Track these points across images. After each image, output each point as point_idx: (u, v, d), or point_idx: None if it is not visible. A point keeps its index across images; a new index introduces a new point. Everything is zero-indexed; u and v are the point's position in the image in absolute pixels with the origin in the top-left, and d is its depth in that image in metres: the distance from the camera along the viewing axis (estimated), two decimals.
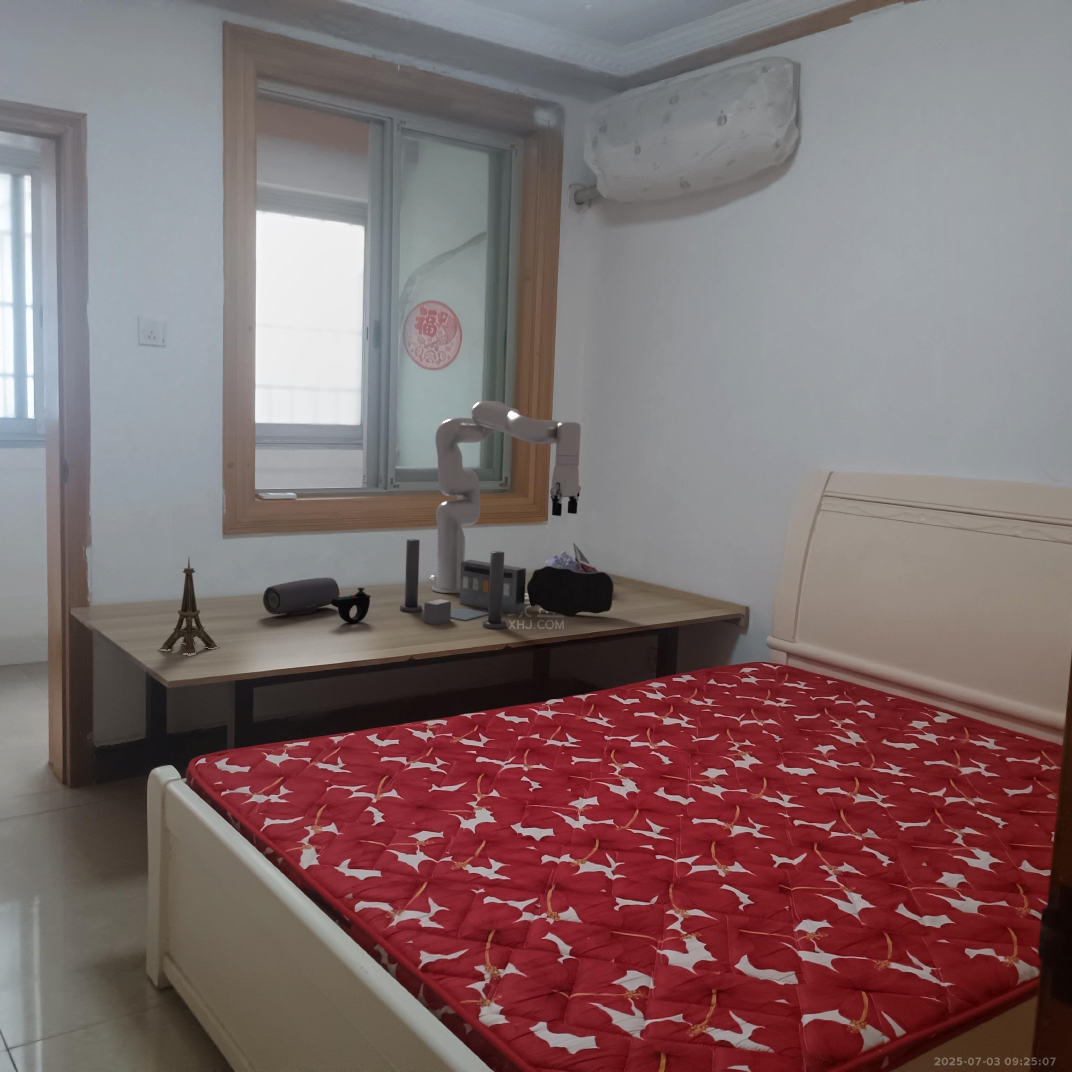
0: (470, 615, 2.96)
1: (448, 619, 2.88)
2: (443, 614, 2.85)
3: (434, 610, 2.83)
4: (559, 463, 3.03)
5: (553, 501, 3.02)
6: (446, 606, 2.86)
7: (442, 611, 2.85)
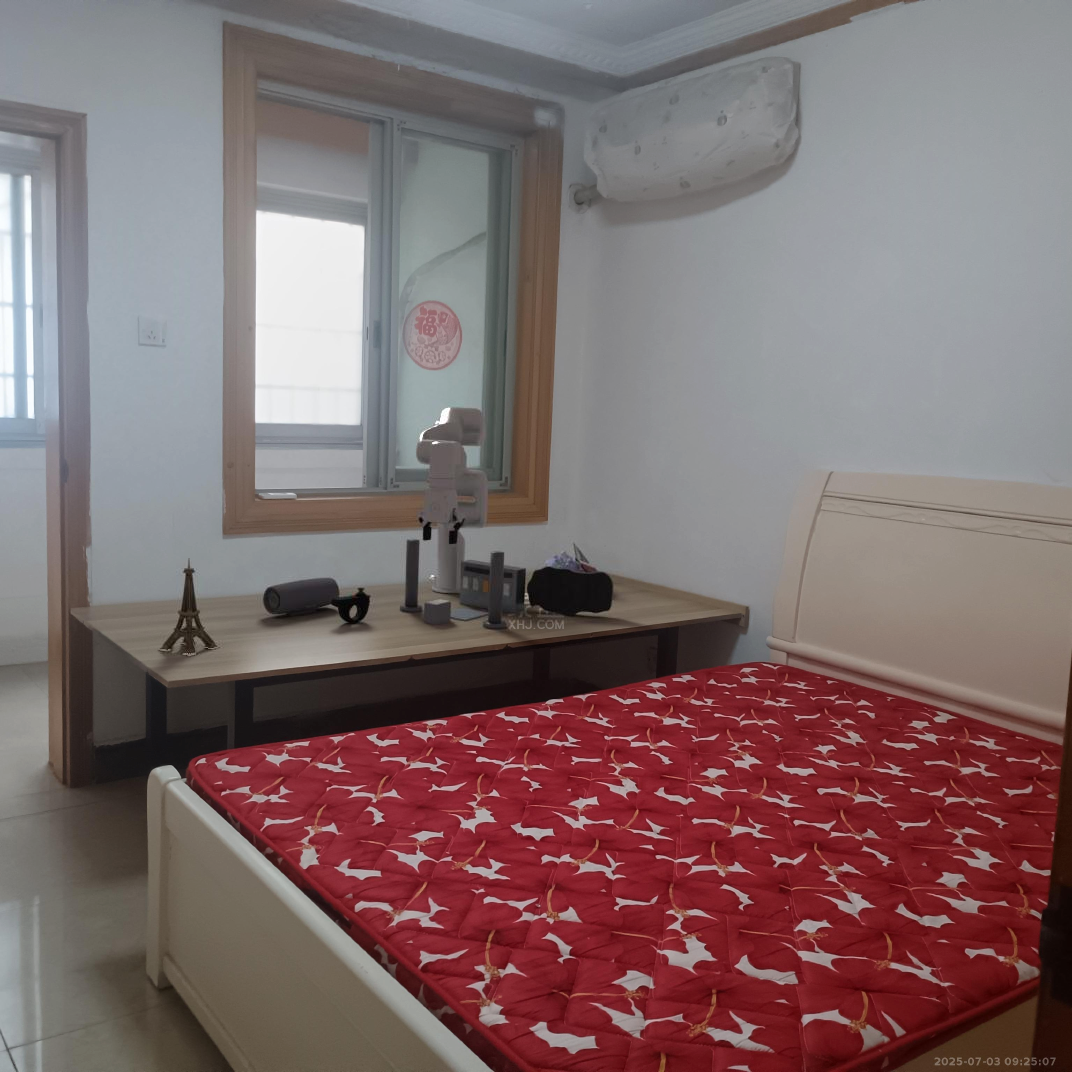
0: (470, 615, 2.96)
1: (448, 619, 2.88)
2: (443, 614, 2.85)
3: (434, 610, 2.83)
4: (450, 487, 2.79)
5: (456, 528, 2.79)
6: (446, 606, 2.86)
7: (442, 611, 2.85)
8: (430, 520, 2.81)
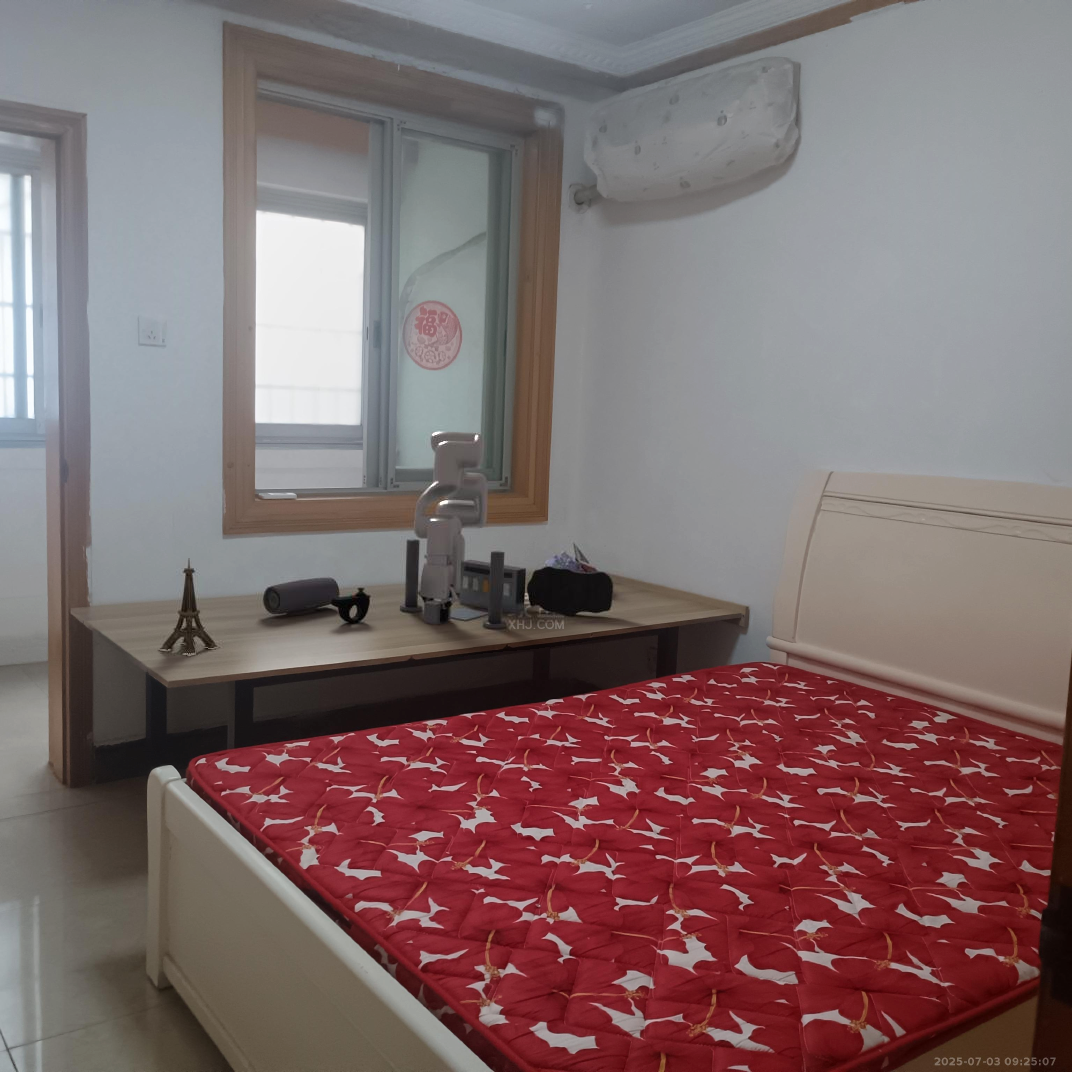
0: (470, 615, 2.96)
1: (448, 619, 2.88)
2: None
3: (434, 610, 2.83)
4: (447, 564, 2.82)
5: (447, 607, 2.84)
6: None
7: None
8: (428, 595, 2.84)
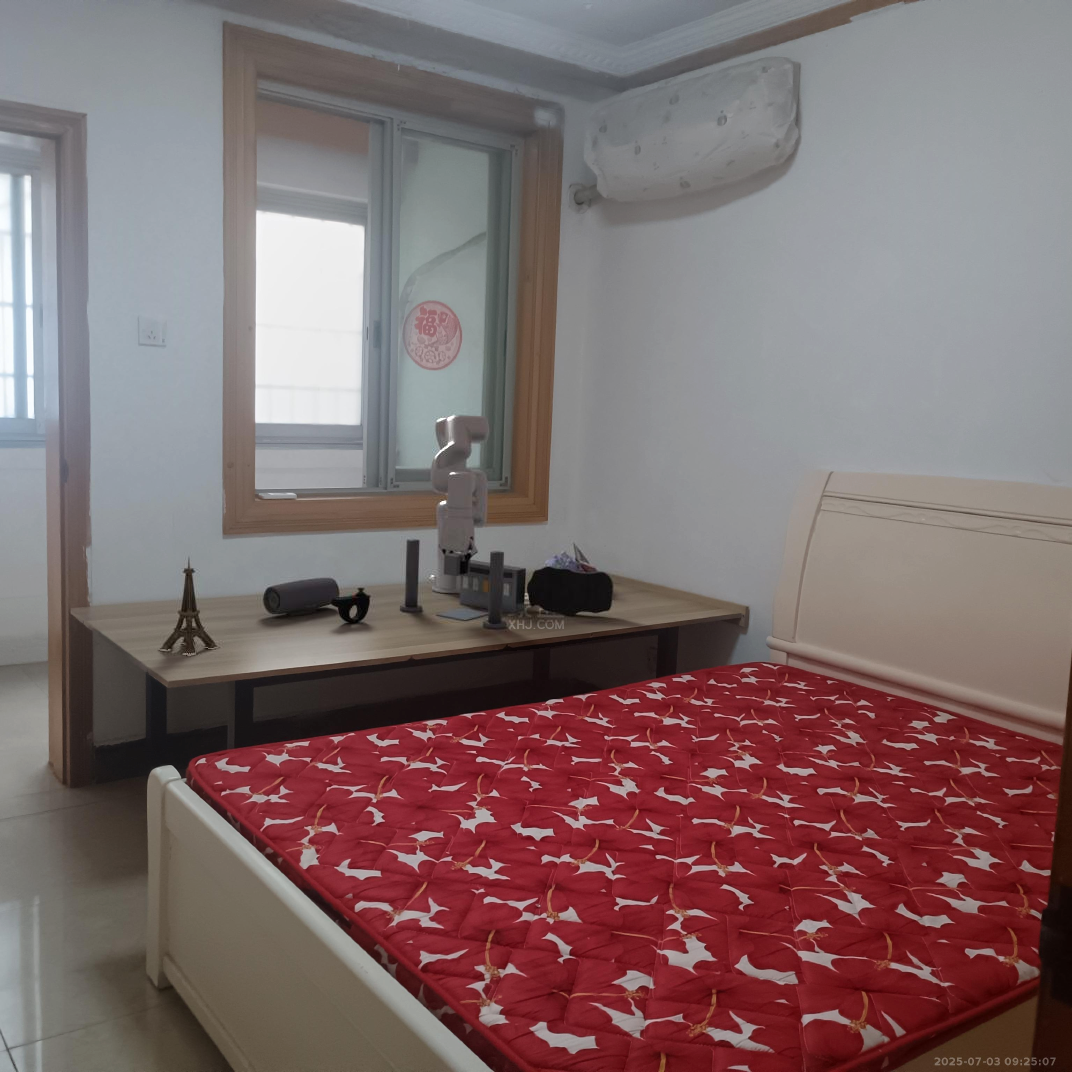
0: (470, 615, 2.96)
1: None
2: None
3: (454, 562, 2.88)
4: (467, 516, 2.88)
5: (467, 559, 2.90)
6: None
7: None
8: (448, 548, 2.90)
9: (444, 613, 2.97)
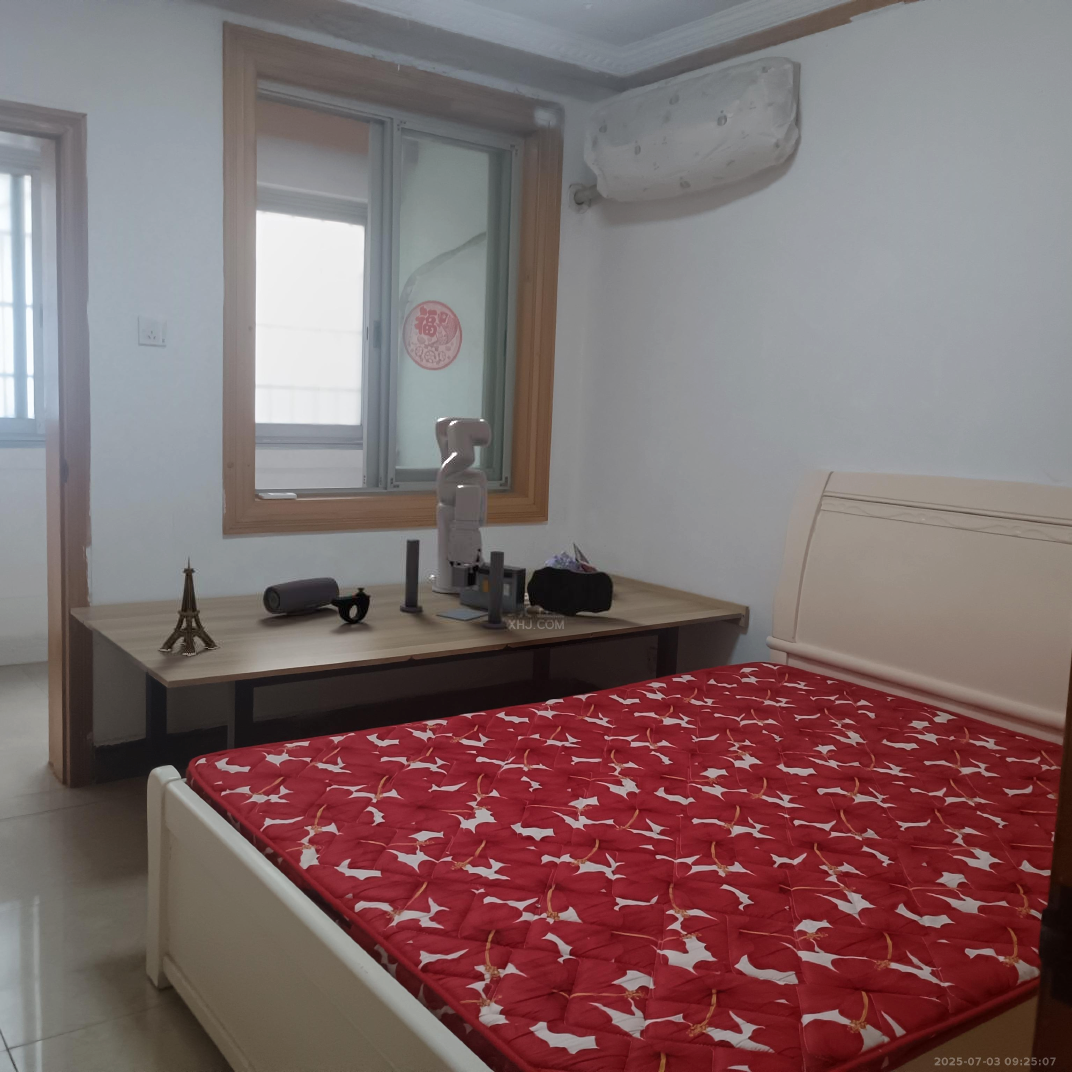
0: (470, 615, 2.96)
1: (475, 583, 2.97)
2: None
3: (462, 574, 2.92)
4: (475, 529, 2.92)
5: (475, 571, 2.93)
6: None
7: None
8: (456, 560, 2.94)
9: (444, 613, 2.97)
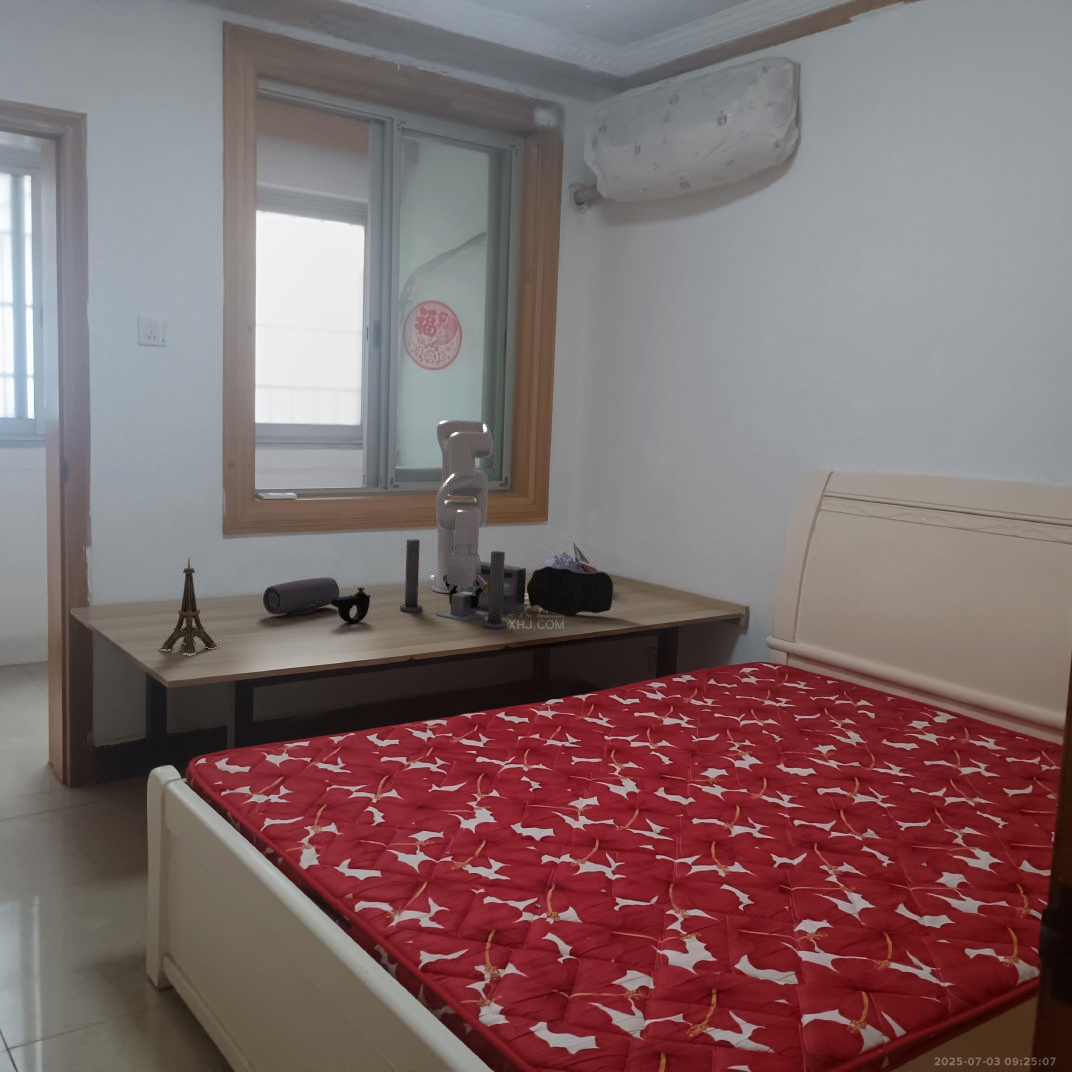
0: (470, 615, 2.96)
1: (474, 611, 2.99)
2: (469, 606, 2.96)
3: (461, 602, 2.94)
4: (474, 553, 2.93)
5: (478, 594, 2.94)
6: None
7: (468, 603, 2.96)
8: (455, 584, 2.95)
9: (444, 613, 2.97)
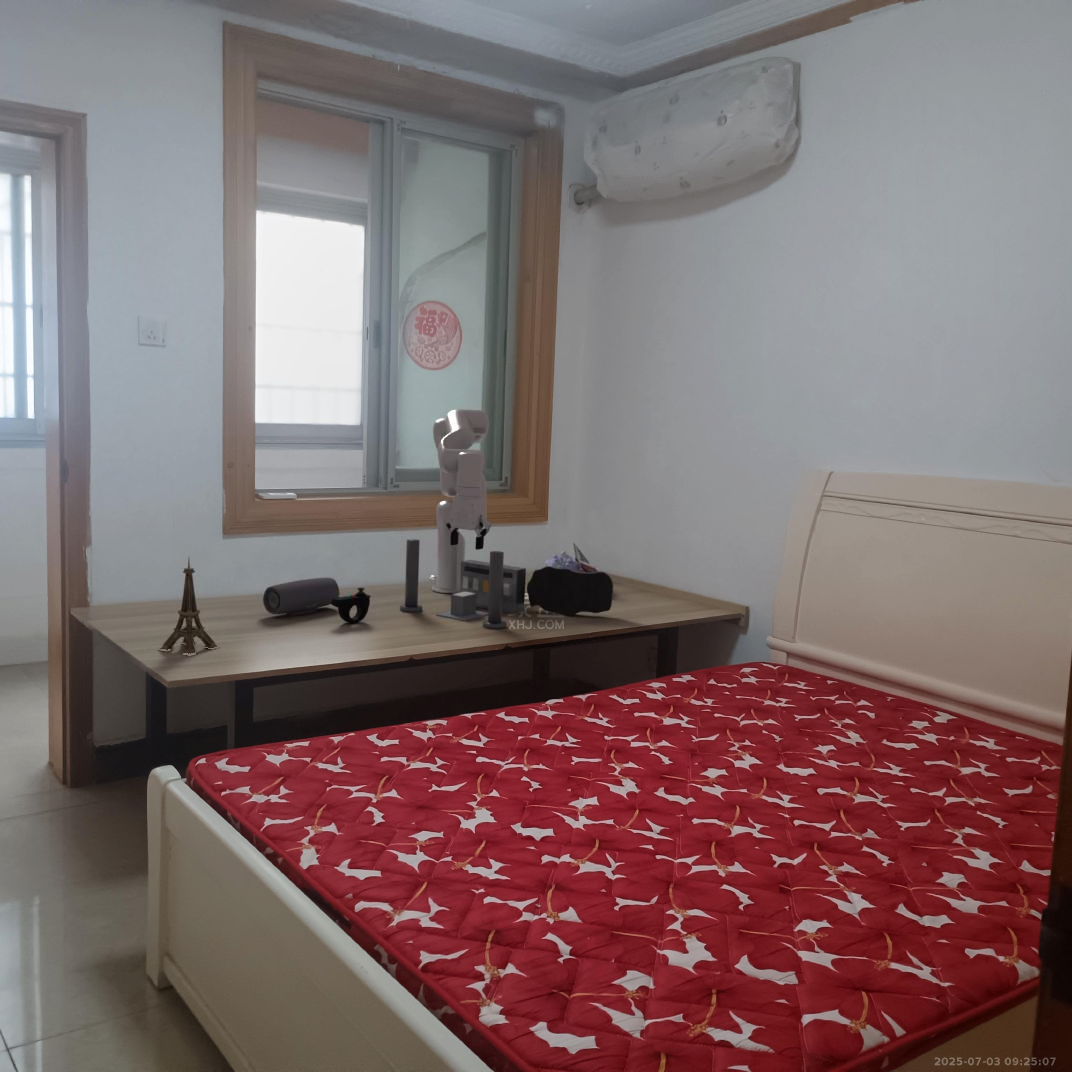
0: (470, 615, 2.96)
1: (474, 611, 2.99)
2: (469, 606, 2.96)
3: (461, 602, 2.94)
4: (477, 495, 2.93)
5: (483, 535, 2.93)
6: (472, 598, 2.97)
7: (468, 603, 2.96)
8: (458, 526, 2.95)
9: (444, 613, 2.97)
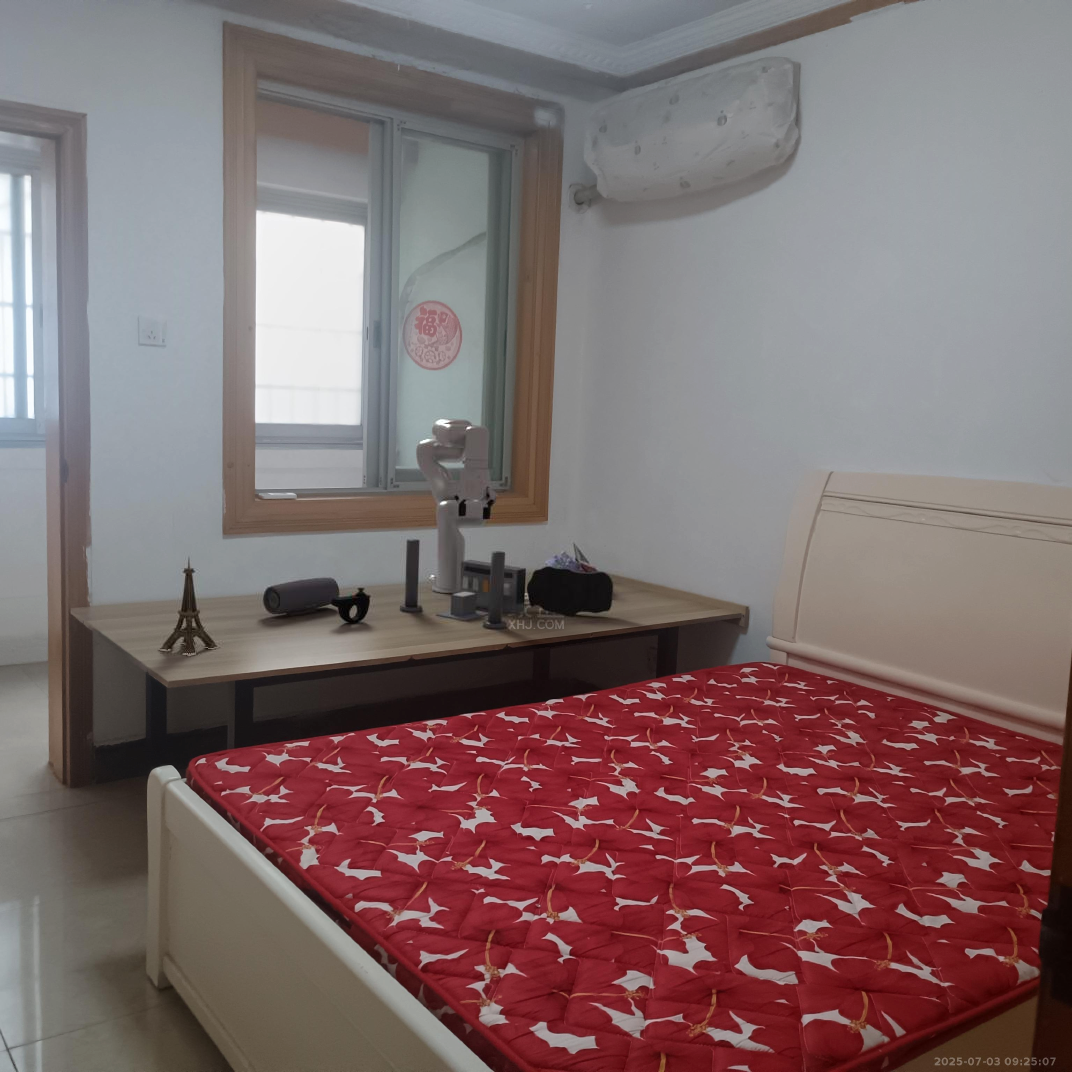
0: (470, 615, 2.96)
1: (474, 611, 2.99)
2: (469, 606, 2.96)
3: (461, 602, 2.94)
4: (484, 468, 3.08)
5: (489, 505, 3.08)
6: (472, 598, 2.97)
7: (468, 603, 2.96)
8: (465, 498, 3.10)
9: (444, 613, 2.97)
